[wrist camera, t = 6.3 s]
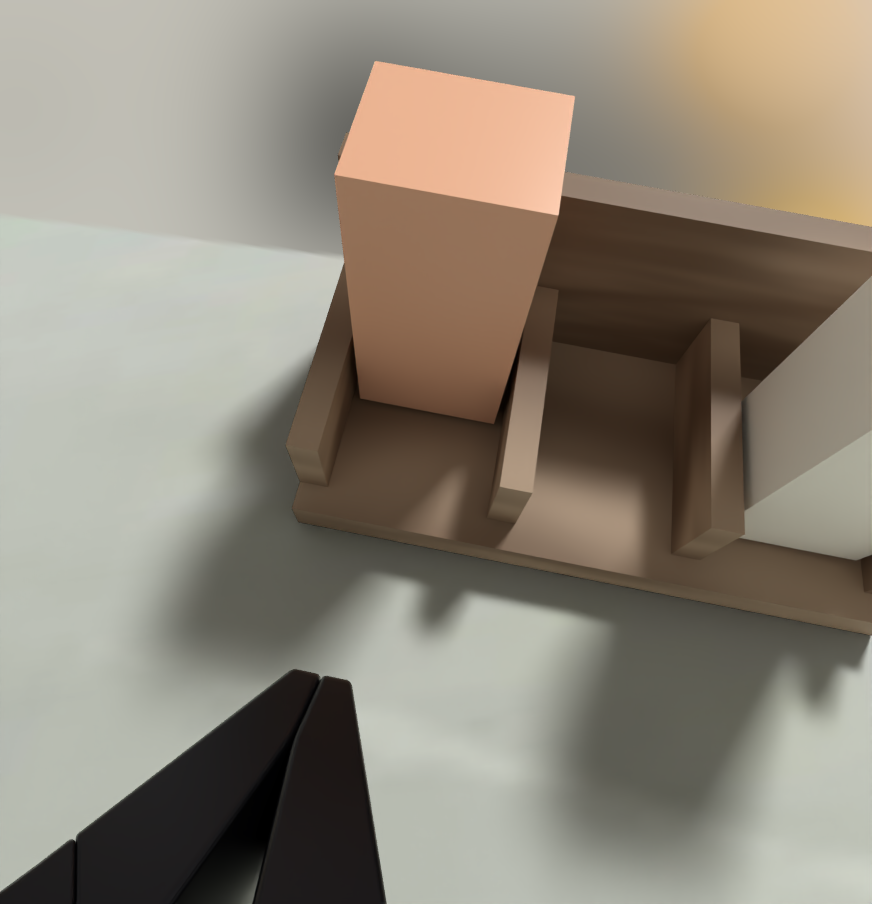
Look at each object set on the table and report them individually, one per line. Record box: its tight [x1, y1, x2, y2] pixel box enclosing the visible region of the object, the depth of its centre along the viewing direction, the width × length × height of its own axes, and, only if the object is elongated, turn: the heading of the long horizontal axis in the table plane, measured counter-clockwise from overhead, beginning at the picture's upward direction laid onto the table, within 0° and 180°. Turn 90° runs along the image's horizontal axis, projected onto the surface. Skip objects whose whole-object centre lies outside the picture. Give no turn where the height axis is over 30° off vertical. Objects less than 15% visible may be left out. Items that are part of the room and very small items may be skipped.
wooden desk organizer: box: [286, 133, 872, 635], centre depth 20 cm, size 10×21×8 cm, turn 79°
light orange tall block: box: [334, 61, 575, 424], centre depth 19 cm, size 4×5×10 cm
